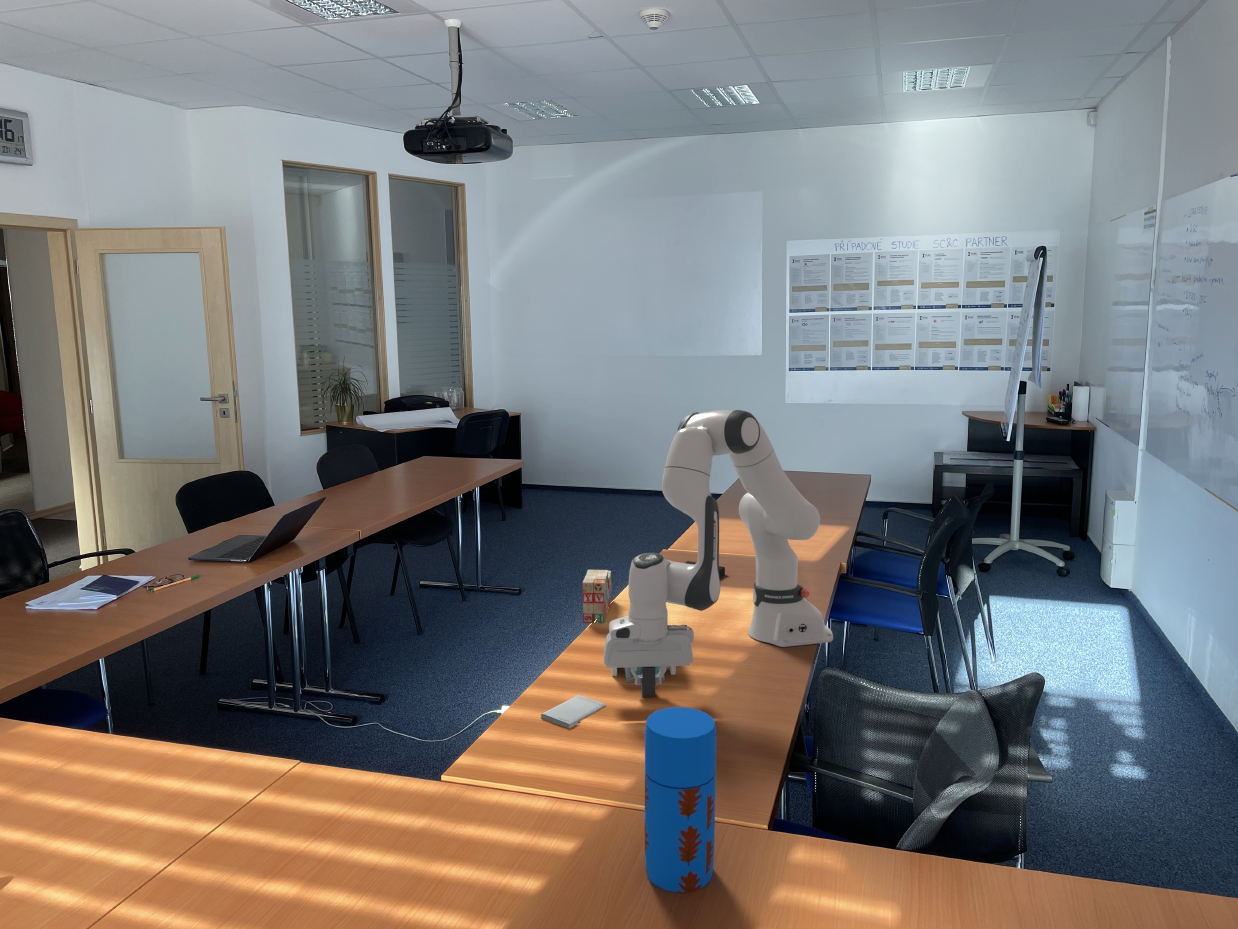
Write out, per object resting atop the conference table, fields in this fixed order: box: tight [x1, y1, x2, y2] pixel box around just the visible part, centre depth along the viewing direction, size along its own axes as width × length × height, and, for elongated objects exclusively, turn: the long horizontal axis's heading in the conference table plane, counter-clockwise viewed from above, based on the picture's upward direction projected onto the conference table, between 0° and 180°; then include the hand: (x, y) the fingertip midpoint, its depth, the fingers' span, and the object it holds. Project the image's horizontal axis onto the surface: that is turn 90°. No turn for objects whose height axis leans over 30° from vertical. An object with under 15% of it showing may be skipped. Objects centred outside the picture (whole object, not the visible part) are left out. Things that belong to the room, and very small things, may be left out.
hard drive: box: [540, 694, 607, 729], centre depth 194 cm, size 2×8×12 cm
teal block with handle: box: [623, 666, 665, 698], centre depth 210 cm, size 9×20×7 cm, turn 3°
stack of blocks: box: [582, 569, 613, 624], centre depth 259 cm, size 21×6×12 cm, turn 175°
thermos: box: [644, 706, 717, 893], centre depth 137 cm, size 11×11×25 cm
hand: (647, 683), depth 201 cm, fingers open, 3 cm apart
